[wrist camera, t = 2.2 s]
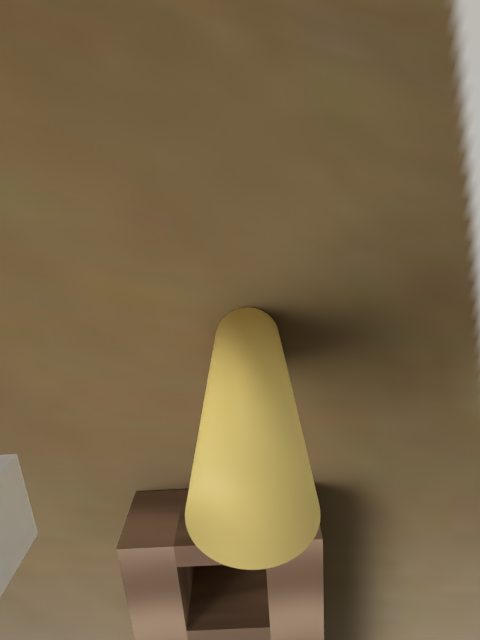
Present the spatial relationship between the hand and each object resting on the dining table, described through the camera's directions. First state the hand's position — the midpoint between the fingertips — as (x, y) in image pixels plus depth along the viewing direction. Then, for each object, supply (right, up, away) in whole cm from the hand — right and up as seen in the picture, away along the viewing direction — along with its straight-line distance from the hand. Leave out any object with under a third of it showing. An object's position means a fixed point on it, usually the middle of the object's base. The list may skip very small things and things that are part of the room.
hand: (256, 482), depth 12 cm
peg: (0, +4, +10) cm, 10 cm away
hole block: (-1, -14, +15) cm, 21 cm away
